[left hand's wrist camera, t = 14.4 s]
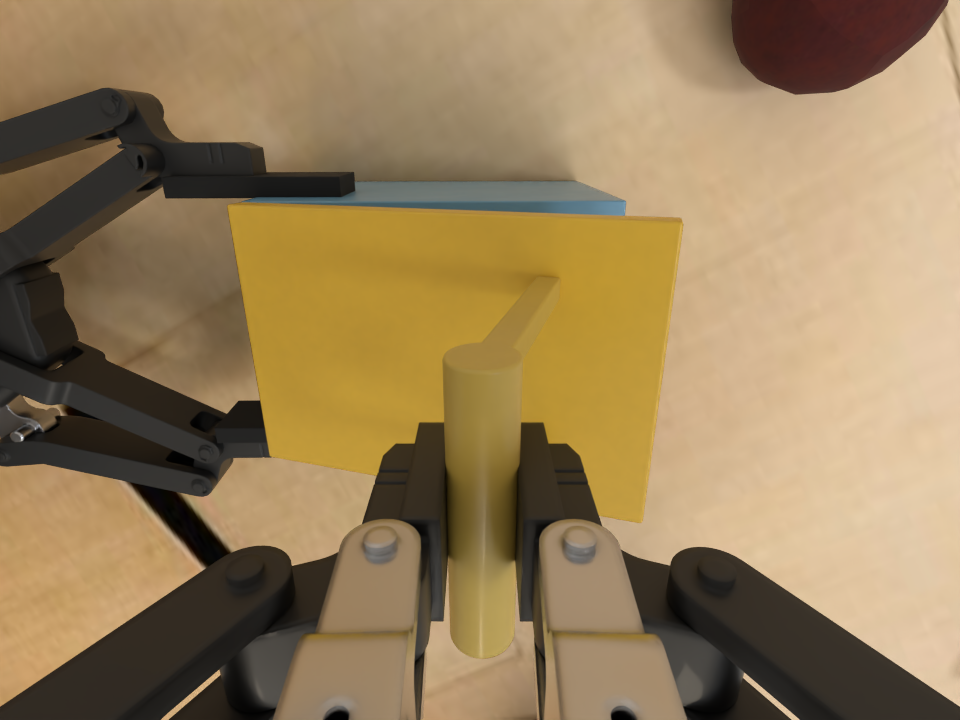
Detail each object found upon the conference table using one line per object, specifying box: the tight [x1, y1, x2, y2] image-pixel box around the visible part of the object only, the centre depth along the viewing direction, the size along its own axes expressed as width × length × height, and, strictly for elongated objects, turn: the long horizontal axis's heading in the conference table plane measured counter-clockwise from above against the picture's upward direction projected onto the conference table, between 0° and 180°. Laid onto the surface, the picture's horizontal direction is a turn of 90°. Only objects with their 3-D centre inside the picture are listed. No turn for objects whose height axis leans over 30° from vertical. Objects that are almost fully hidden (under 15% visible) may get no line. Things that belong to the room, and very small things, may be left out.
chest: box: [242, 181, 626, 216], centre depth 25 cm, size 14×10×10 cm
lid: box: [227, 202, 683, 659], centre depth 15 cm, size 14×10×8 cm
